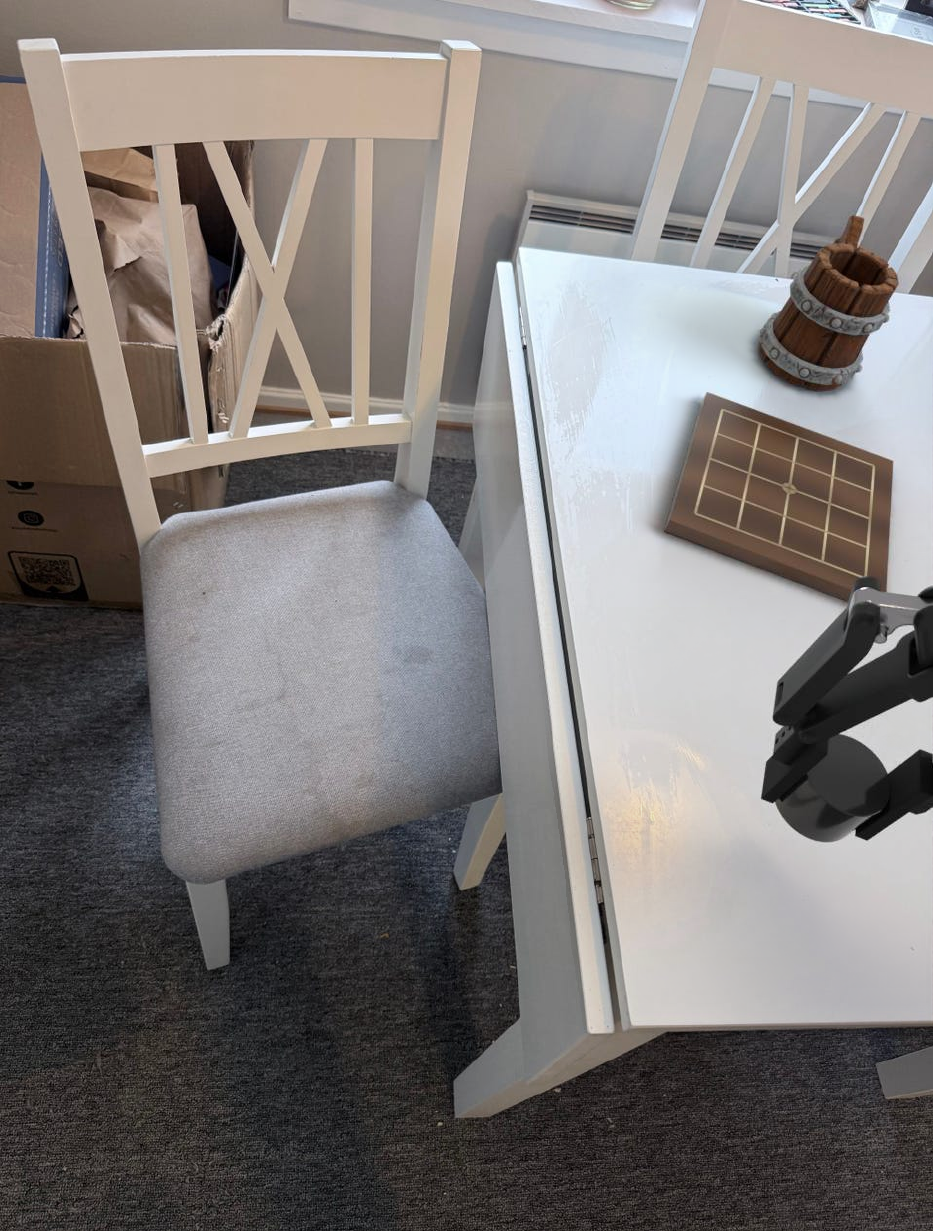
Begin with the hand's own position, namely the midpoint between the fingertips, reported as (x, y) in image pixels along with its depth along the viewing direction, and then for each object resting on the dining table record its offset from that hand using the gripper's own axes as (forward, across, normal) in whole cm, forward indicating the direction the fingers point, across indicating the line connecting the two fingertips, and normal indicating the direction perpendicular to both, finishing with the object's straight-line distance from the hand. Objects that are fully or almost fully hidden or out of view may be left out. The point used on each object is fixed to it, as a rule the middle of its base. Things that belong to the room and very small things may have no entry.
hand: (816, 800), depth 51 cm
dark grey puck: (0, 0, 0) cm, 0 cm away
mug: (+9, +2, -63) cm, 64 cm away
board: (+9, +2, -37) cm, 39 cm away
